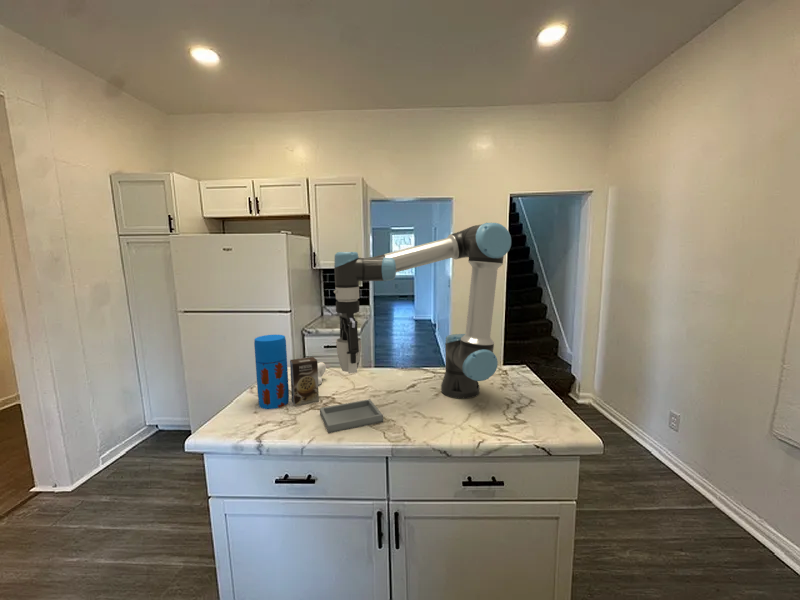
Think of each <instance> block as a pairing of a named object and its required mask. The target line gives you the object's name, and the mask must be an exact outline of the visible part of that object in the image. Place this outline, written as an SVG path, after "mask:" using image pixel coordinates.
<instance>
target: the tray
mask: <svg viewBox="0 0 800 600" xmlns="http://www.w3.org/2000/svg"><path fill="white" fill-rule="evenodd" d="M319 414H320V418H321V420H322V422H323V424H324V427H325V429H326V432H327V434H332V433H338V432H342V431H347V430H352V429H357V428H362V427H366V426H371V425H372V426H373V425H377V424H381V423H384V414H383V413H382V412H381V411H380V409H379V408H378V407H377V406H376V405H375V403H374V402H373V401H372V400H371V398H368V399H364V400H363V399H362V400H359V401H358V400H356V401H352V402H347V403H340V404H336V405H329V406H323V407H320V408H319Z"/></svg>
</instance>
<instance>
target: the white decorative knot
mask: <svg viewBox="0 0 800 600" xmlns="http://www.w3.org/2000/svg"><path fill="white" fill-rule="evenodd" d="M317 364H318V386H320V385H321V384H322V382H323V379H322V377H323V375H324V374H325V372H326V369H327V366H326V363H324V362H322V361H321V362H317Z"/></svg>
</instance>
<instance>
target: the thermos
mask: <svg viewBox="0 0 800 600" xmlns="http://www.w3.org/2000/svg"><path fill="white" fill-rule="evenodd" d="M253 340H254V342H253V343H254V355H255V356H254V359H255V371H256V372H255V374H256V387H257V398H258V404H259V408H261V409H263V410H276V409H279V408H282V407H283V408H284V407H285V406H286V405H287V404H289V403H290V399H289V398H290V392H289V391H290V390H289V388H290V386H289V373H288V371H289V368H288V354H287V341H286V340H287V339H286V336H285V335H283V334H266V335H260V336H257V337H255V338H254V339H253Z"/></svg>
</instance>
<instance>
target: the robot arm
mask: <svg viewBox="0 0 800 600" xmlns="http://www.w3.org/2000/svg"><path fill="white" fill-rule="evenodd" d="M511 247H512V237H511V234H510V231H509V230H508V229H507V228H506V227H505V225H502V224H500V223H499V222H498V223H497V222H484V223H482V224H477V225H472V226H470V227H467V228H465V229H463V230H460V231H457V232H454V233H451V234H448V236H447V237H446V238H441V239H437V240H435V241H430V242H427V243H426V242H425V243H422V244H418V245H414V246H411V247H406V248H402V249H399V250H395V251H390V252H388V253H384V254H379V255H376V256H369V257H360V256H359V253H358V252H357V251H339V252H336V253H335V254H334V267H333V269H334V287H335V290H333V293H334V294H335V300H336V301H335V312H336V313H337V314H340V315H339V338H342V340H347V341H348V349H349V352H347V354H348V372H347V373H348V374H355V373H358V369H357V352H359V346H358V338H359V335H358V320H356V318H355V315H354V314H357V313H359V312H360V300H359V299H360V284H359V283H360V282H387V281H393V280H395V279H396V275H397V273H399V272H403V271H407V270H410V269H414V268H418V267H422V266H426V265H429V264H433V263H436V262H437V263H438V262H441V261H444V260H445V261H446V260H449V259H453V260H459V259H464V258H465V259H466V258H468V263H469V265H470V266H471V275H470V277H471V278H470V287H469V295H468V306H467V307H468V308H467V316H466V317H467V318H466V324H465V325H466V326H465V333H455V334H448V335H447V336H446V337H445V343H444V344H445V373H444V376H443V378H442V381H441V385H440V390H441V393H442V394H443V395H445V396H447V397H450V398H454V399H470V398H471V399H472V398H475V397H477V396H478V395H480V384H479V382H483V381H486V380H489V379H490V378H491V377H492V376H493V375H494V374H495V373H496V371H497V369H498V365H499V364H498V363H499V362H498V358H497V356H496V354H495V352H494V348H495V341H494V340H493V339H492V337H491V335H492V333H491V332H492V324H493V314H494V305H495V297H496V287H497V279H498V270H499V268H500V267H502V266H503V265H504V259H505V258H504V257H505V256H506V254H507V253H509V251H510V249H511Z"/></svg>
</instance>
